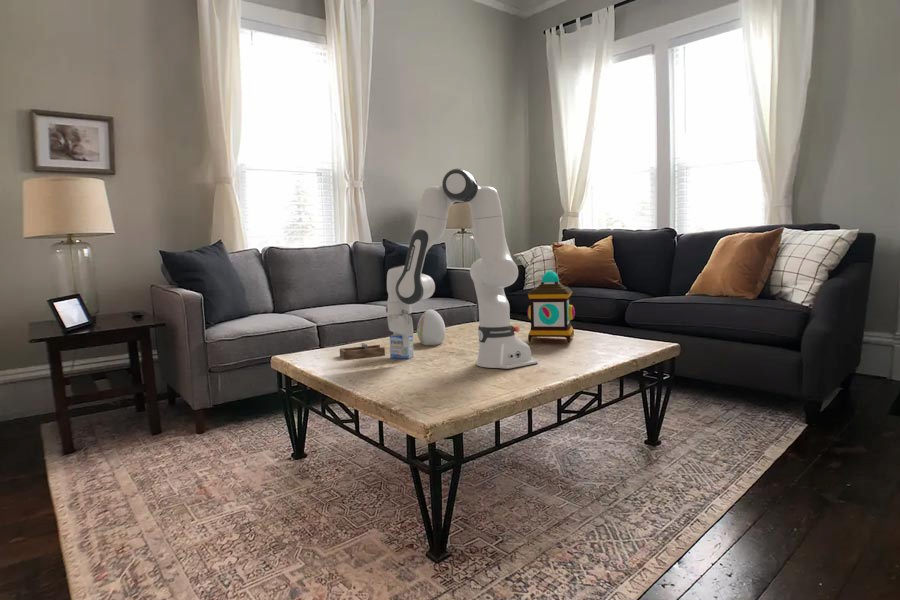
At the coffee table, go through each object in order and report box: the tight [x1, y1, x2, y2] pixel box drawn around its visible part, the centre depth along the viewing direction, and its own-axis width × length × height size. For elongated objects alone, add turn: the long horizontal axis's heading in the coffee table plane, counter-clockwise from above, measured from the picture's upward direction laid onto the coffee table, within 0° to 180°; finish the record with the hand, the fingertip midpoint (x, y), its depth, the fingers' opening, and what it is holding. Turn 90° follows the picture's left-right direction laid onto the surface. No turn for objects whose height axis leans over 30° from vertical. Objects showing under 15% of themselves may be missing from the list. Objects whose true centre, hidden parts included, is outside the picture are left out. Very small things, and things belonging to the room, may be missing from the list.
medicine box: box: [389, 334, 415, 360], centre depth 206 cm, size 8×4×9 cm, turn 69°
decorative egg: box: [416, 309, 447, 346], centre depth 235 cm, size 12×12×15 cm
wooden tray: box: [339, 344, 386, 360], centre depth 214 cm, size 16×8×3 cm, turn 113°
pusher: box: [361, 342, 368, 349], centre depth 214 cm, size 1×5×4 cm, turn 23°
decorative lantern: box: [527, 270, 576, 345], centre depth 233 cm, size 20×20×30 cm
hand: (401, 345), depth 206 cm, fingers open, 8 cm apart
